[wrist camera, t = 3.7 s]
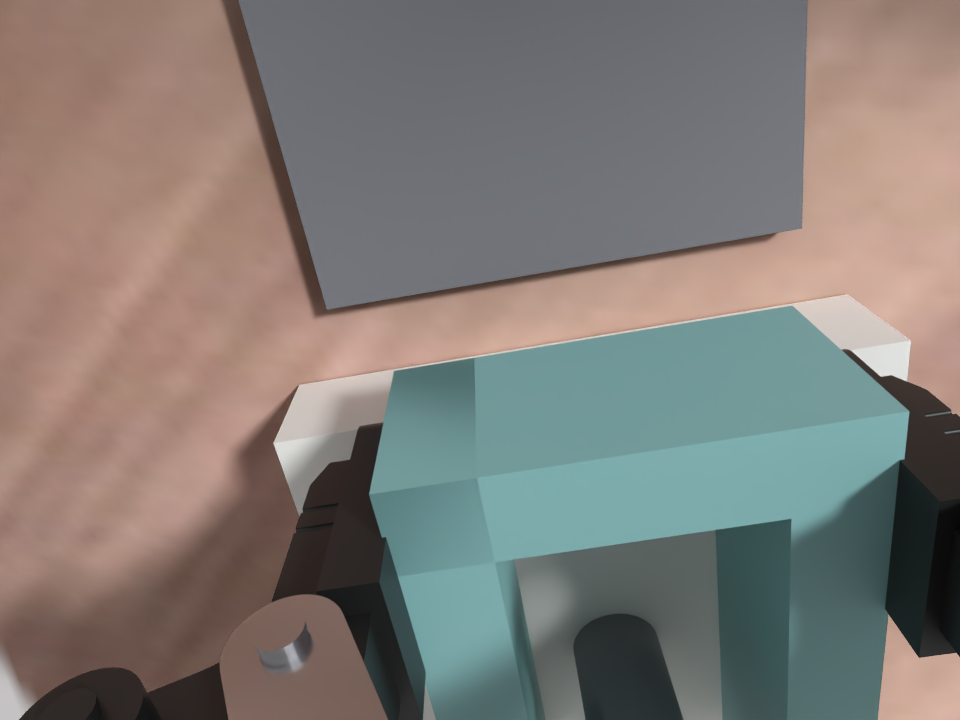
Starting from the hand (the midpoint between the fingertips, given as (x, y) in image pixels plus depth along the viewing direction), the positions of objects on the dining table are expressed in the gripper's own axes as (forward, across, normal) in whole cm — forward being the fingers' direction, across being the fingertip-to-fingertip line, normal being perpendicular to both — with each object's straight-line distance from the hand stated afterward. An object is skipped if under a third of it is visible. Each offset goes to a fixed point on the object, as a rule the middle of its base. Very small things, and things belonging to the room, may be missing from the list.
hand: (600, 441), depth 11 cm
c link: (0, 0, +3) cm, 3 cm away
